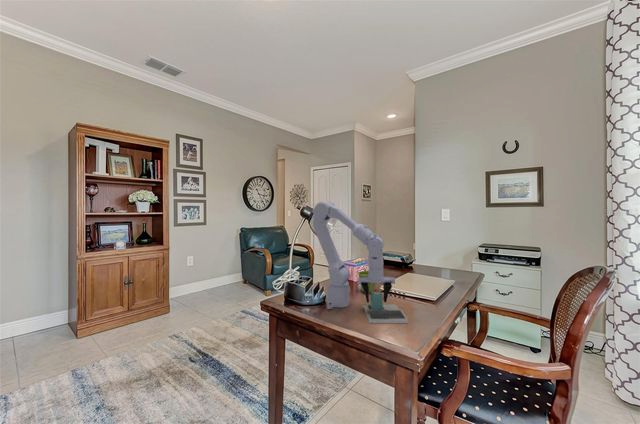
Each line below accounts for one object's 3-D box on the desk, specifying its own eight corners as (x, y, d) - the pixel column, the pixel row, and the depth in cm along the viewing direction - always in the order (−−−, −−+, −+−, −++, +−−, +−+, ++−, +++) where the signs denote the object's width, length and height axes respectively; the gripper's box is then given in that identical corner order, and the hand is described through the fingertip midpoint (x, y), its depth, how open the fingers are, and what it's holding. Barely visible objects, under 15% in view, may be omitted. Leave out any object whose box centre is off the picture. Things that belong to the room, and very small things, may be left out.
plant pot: (353, 290, 128) (353, 272, 128) (367, 286, 133) (367, 269, 133) (367, 295, 120) (367, 277, 120) (381, 291, 125) (381, 273, 125)
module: (372, 310, 101) (372, 294, 101) (370, 306, 105) (370, 291, 105) (382, 310, 101) (382, 294, 101) (380, 306, 105) (380, 291, 105)
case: (369, 325, 91) (369, 319, 91) (366, 314, 99) (365, 309, 99) (408, 325, 91) (408, 319, 91) (401, 314, 99) (401, 309, 99)
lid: (366, 315, 99) (366, 312, 99) (363, 306, 108) (363, 304, 108) (401, 314, 99) (401, 312, 99) (395, 306, 107) (395, 303, 107)
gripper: (358, 270, 99) (359, 305, 100) (397, 269, 99) (397, 305, 99) (356, 265, 106) (357, 298, 107) (392, 265, 106) (392, 298, 106)
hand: (376, 301), depth 103 cm, fingers open, 6 cm apart
